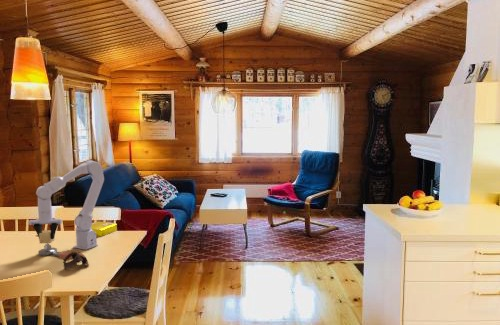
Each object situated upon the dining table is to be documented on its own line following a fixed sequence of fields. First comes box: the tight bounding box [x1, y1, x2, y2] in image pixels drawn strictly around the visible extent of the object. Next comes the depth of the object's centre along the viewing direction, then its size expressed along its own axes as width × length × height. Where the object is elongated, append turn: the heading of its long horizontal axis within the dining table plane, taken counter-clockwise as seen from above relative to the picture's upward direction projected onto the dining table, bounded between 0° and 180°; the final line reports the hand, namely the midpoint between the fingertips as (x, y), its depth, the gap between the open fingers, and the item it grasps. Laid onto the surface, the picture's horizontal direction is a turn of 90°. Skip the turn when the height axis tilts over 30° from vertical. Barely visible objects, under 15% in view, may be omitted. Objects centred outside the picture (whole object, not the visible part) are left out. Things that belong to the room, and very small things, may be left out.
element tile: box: [91, 221, 118, 238], centre depth 231 cm, size 15×15×5 cm
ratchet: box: [38, 243, 73, 260], centre depth 192 cm, size 22×8×5 cm, turn 65°
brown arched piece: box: [62, 250, 90, 270], centre depth 177 cm, size 12×10×8 cm
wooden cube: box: [38, 229, 55, 244], centre depth 195 cm, size 5×5×5 cm
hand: (46, 238), depth 195 cm, fingers closed on wooden cube, 5 cm apart
